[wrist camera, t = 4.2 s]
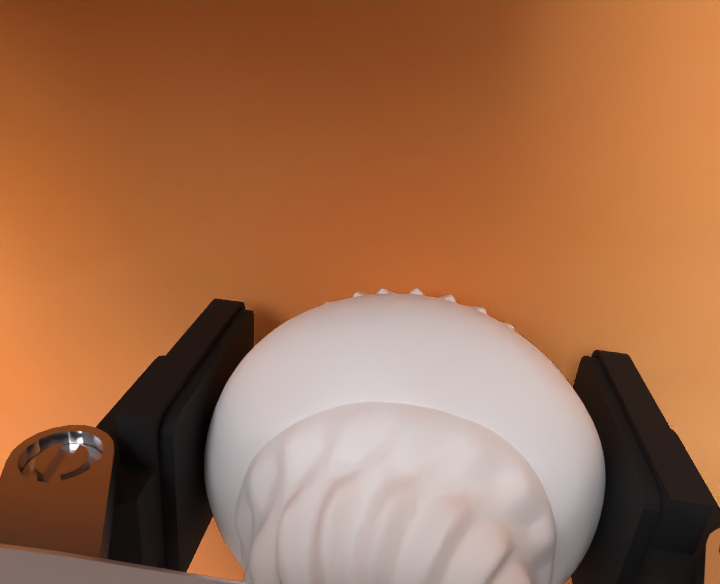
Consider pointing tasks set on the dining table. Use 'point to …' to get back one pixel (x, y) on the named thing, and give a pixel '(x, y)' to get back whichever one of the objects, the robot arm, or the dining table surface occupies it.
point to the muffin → (402, 451)
